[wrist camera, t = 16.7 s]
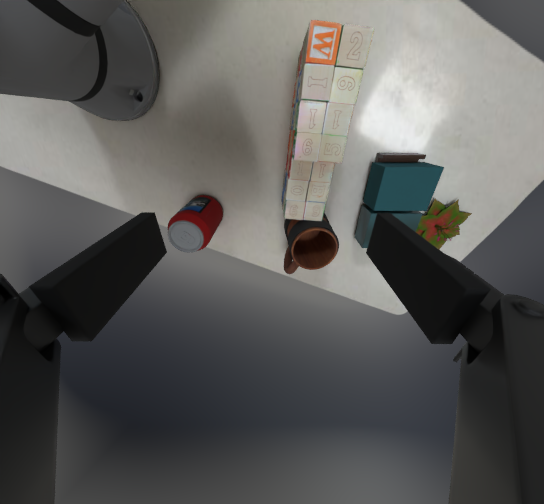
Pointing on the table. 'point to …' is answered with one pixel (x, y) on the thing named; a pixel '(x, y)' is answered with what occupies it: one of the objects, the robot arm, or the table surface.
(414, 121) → the table surface
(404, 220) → the teal lidded box
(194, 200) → the beverage can
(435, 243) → the lily flower
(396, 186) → the block
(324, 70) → the stack of blocks
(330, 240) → the mug
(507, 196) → the table surface
